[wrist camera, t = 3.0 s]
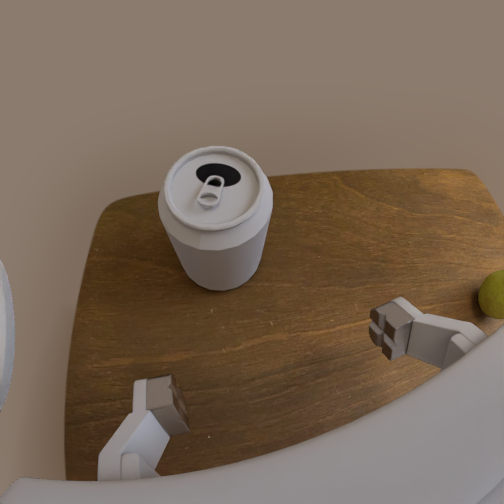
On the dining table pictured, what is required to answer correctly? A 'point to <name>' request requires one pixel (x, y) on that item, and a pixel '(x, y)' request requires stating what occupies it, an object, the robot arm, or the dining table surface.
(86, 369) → the dining table surface
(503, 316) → the fruit
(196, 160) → the can
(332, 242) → the dining table surface
